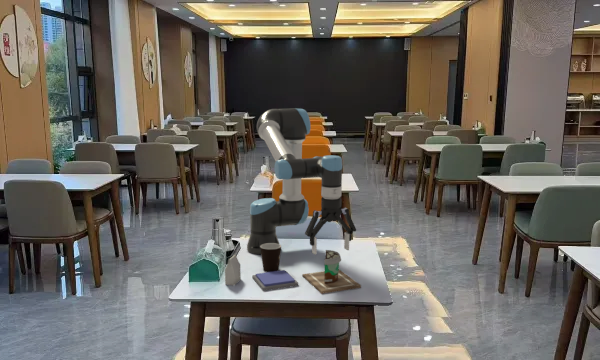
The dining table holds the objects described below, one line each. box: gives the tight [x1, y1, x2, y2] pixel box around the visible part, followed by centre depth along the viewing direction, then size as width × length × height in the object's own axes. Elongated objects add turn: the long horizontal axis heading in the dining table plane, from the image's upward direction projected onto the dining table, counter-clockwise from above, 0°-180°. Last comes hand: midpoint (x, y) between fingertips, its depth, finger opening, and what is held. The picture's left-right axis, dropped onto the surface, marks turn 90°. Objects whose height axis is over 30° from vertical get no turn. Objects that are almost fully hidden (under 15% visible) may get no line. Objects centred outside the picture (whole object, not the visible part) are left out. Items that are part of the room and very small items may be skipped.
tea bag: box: [224, 254, 242, 286], centre depth 202 cm, size 4×7×10 cm, turn 166°
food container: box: [324, 249, 342, 284], centre depth 201 cm, size 12×6×10 cm, turn 175°
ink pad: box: [252, 269, 299, 292], centre depth 203 cm, size 14×14×2 cm
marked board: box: [302, 268, 362, 295], centre depth 202 cm, size 19×16×1 cm
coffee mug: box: [260, 243, 282, 273], centre depth 217 cm, size 12×9×10 cm
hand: (330, 251), depth 201 cm, fingers open, 13 cm apart
